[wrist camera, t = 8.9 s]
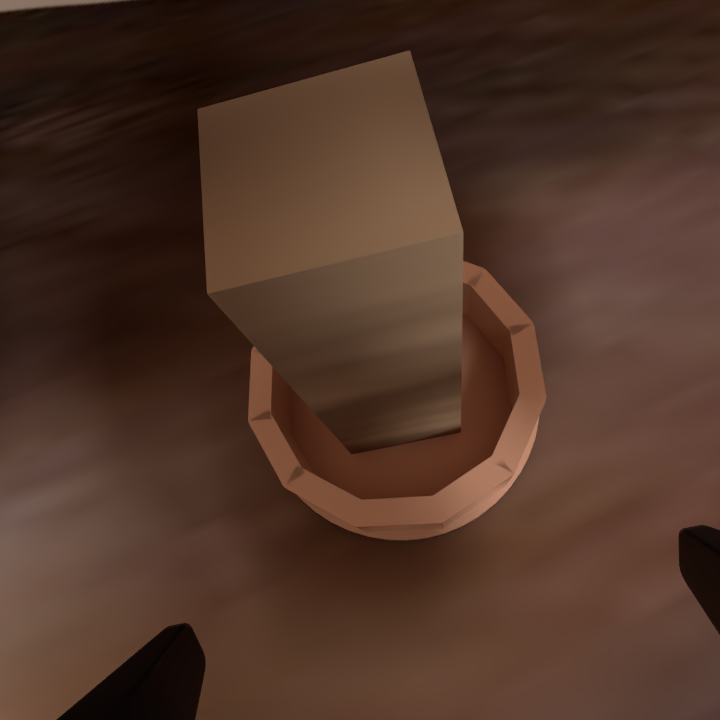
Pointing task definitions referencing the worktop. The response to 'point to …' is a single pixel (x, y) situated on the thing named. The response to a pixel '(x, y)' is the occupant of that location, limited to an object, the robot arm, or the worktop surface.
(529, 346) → the tan shallow dish
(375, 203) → the tall square post
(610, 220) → the worktop surface
